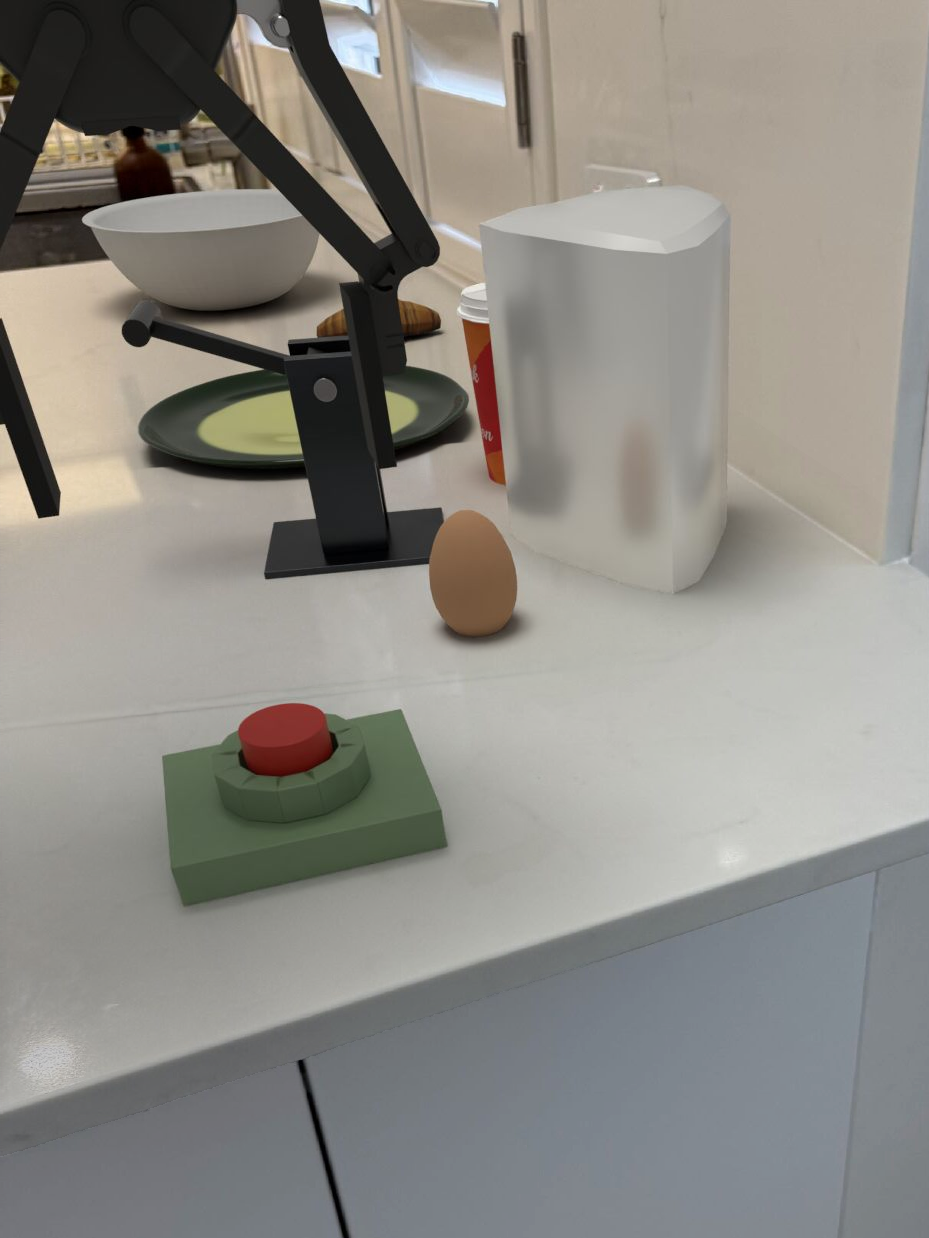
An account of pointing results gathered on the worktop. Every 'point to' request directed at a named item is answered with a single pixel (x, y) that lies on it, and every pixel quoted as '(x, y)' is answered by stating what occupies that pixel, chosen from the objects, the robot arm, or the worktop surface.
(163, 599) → the worktop surface
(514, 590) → the egg
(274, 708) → the button
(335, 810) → the control block
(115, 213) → the bowl
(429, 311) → the croissant
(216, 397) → the plate
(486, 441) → the paper cup
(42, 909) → the worktop surface
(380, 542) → the bracket
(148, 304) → the lever
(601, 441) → the frosted triangular prism
